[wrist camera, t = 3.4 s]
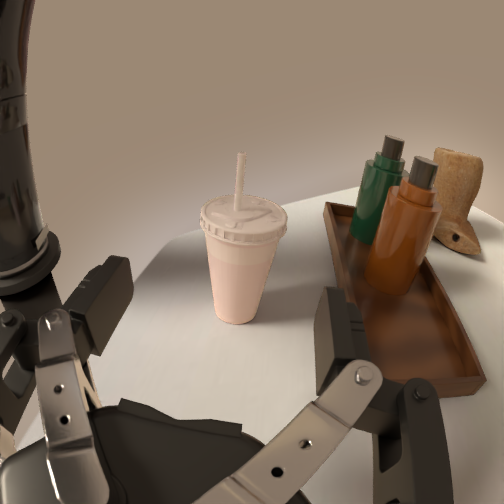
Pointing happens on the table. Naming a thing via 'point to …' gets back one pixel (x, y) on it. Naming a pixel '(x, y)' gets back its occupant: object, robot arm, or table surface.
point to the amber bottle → (404, 230)
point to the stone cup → (457, 198)
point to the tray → (405, 318)
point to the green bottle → (377, 188)
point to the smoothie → (240, 248)
